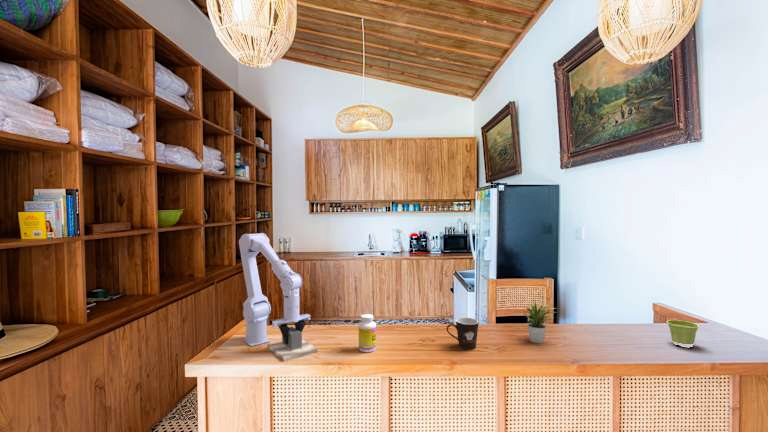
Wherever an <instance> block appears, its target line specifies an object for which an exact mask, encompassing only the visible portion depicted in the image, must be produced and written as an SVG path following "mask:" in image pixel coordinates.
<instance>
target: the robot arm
mask: <svg viewBox="0 0 768 432" xmlns="http://www.w3.org/2000/svg"><path fill="white" fill-rule="evenodd" d="M238 245H239V251H240V258H241V264H242V270H243V276H244V281H245V286H246V292H247V298H246V299H245V301H243V304H242V306H243V310H242V315H243V318H244V319H245V322H246V324H245V337H244V338H243V341H244V342H246V344H247V345H248V346H250V347H253V346H258V345H262V344H266V343H270V342H271V340H270V339H269V338H268V332H267V329H268V323H267V322H268V320H267V319H268V318H269V315H270V314H271V311H272V307H271V304H270V302H269V299H268V297H267V296H266V295H264V294H263V292H262V287H261V280H260V275H259V269H258V265H257V259H256V257H257V255H258V254H259V253H261V254H262V255H263V256H264V257H265V259H266V260H267V261H268V262H269V263H270V264H271V270H272V271H273V274H274V275H275V276H276V277H277V278H278V280H279V281H280V283H279V284H280V285H279V286H280V288H281V290H282V295H283V317H280V318H279V319H275V320H272V321H271V324H272V325H271V326H272V327H273V328H277V327H278V328H279V331H280V333H281V336H282V335H283V339H284V343H285V344H288V333H289V327H290V326H288V325H289V324H294V328H295V329H297V330H299V331H300V332H303V331H304V328H305V326H306V321H310V320H311V314H309V313H305V314H300V288H302V285H303V278H302V276H301V274H299V273H296V272H295V271H293V269H292V268H291V267H290V266H289V265H288V262H287V261H286V260H283V259H280V258H279V257H278V256H279V255H277V253H276V252H275V250H274V249H273V247H272V245H271V243H270V238H269V237H268V236H267V234H266V233H264V232H259V233H244V234H242V235H241V237H240V238H239V240H238Z"/></svg>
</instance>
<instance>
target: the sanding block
mask: <svg viewBox="0 0 768 432" xmlns="http://www.w3.org/2000/svg"><path fill="white" fill-rule="evenodd" d="M288 327H289V333H288V344H285V343H284V339H283V335H282V334H281V341H282V344H283V345H284V346H286V347H287V348H288V349H290V350H291V351H294V350H297V349H301V348H302V339H303V337H302V335H303V333H302V332H303V331H302V332H300V331H299V330H297V329H295V326H294V327H293V326H288Z"/></svg>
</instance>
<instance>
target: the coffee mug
mask: <svg viewBox="0 0 768 432" xmlns="http://www.w3.org/2000/svg"><path fill="white" fill-rule="evenodd" d="M455 323H456V324H454V323H450V324H448V325H447V326H446V331H447V333H448V335H450V336H451V337H453V338H454V339H456V340H457V342H458V347H459V348H460V349H461V350H466V351H470V350H475V349H476V347H477V340H478V331H479V323H480V321H479V320H478V319H476V318H472V317H459V318H456V319H455ZM451 326H453V327H455V329H456V334H457V336H455V335H453V334H452V333H451V332H450V331H449V327H451Z"/></svg>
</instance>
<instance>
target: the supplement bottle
mask: <svg viewBox="0 0 768 432" xmlns="http://www.w3.org/2000/svg"><path fill="white" fill-rule="evenodd" d="M374 319H375V318H374V315H373V314H370V313H367V314H366V313H365V314H362V315H361V317H360V320H361V321H360V322H359V323H358V351H360V352H362V353H372V352H374V351H376V350H377V324H376V322H375V321H374Z"/></svg>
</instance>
